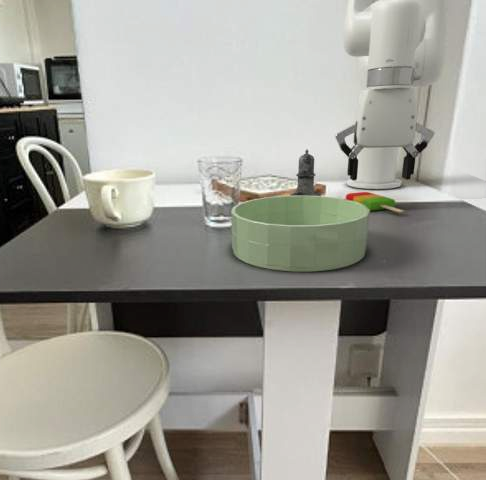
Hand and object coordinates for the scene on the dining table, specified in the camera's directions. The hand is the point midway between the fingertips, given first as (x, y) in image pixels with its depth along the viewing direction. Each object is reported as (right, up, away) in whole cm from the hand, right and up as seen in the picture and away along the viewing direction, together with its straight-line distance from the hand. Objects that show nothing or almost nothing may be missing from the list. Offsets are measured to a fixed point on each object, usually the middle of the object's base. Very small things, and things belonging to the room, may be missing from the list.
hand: (379, 179), depth 83 cm
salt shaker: (-14, -7, +1) cm, 16 cm away
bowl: (-19, -14, -19) cm, 31 cm away
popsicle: (0, -5, +3) cm, 6 cm away
